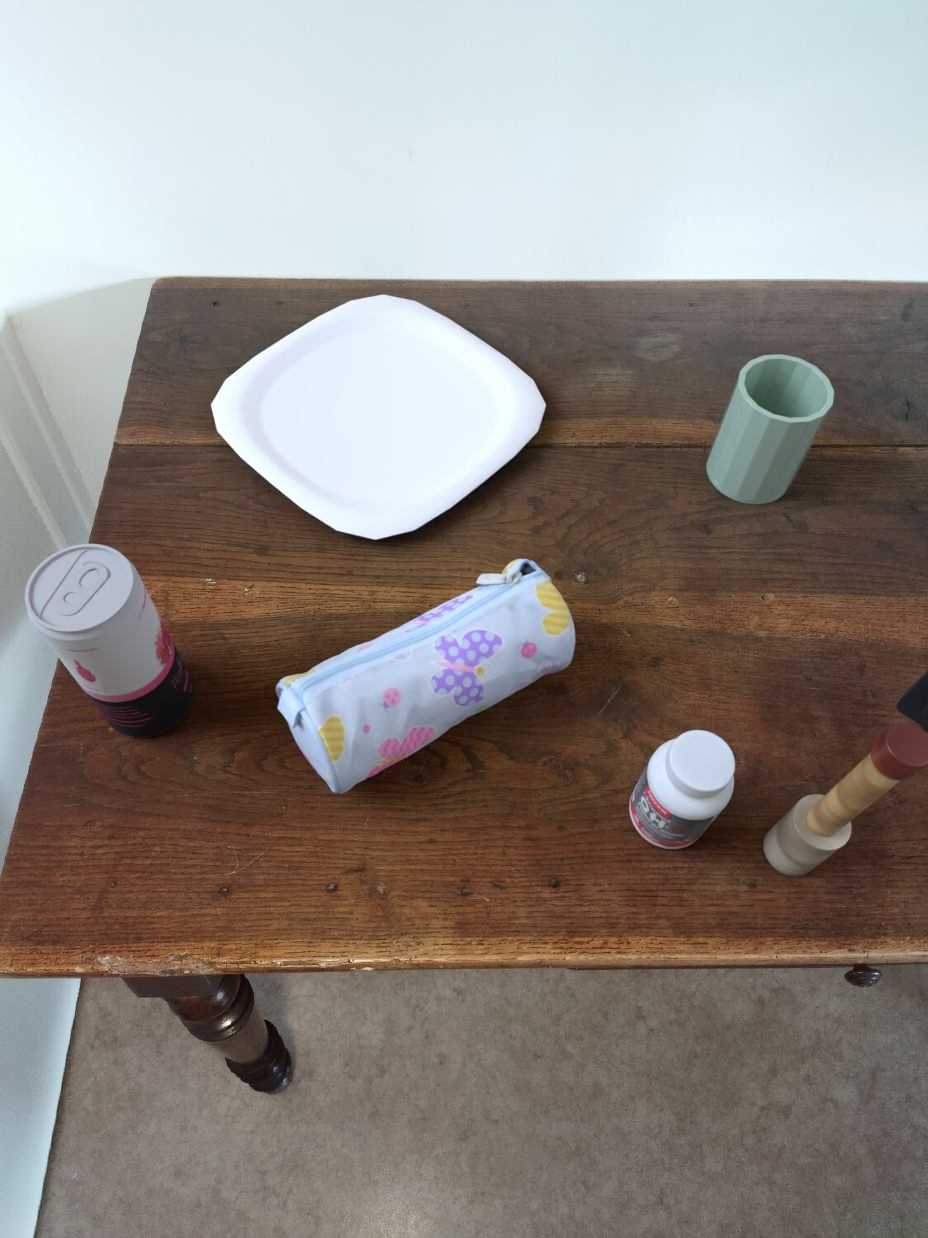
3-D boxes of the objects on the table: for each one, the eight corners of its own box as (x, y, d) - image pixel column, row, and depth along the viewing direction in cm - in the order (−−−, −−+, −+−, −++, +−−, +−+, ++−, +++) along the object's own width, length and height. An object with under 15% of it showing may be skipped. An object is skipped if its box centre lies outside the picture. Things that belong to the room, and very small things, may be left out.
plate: (576, 416, 81) (579, 402, 79) (375, 580, 71) (374, 568, 69) (384, 286, 89) (383, 272, 88) (181, 416, 79) (176, 402, 78)
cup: (805, 467, 78) (850, 383, 70) (764, 518, 75) (806, 436, 67) (732, 427, 81) (767, 341, 72) (690, 475, 77) (721, 390, 69)
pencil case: (513, 596, 70) (523, 523, 62) (579, 678, 67) (599, 612, 59) (277, 725, 64) (253, 662, 56) (334, 824, 60) (318, 772, 52)
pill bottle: (617, 831, 61) (646, 779, 52) (641, 764, 63) (673, 704, 55) (692, 864, 59) (734, 816, 51) (714, 795, 62) (758, 738, 54)
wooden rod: (825, 846, 60) (958, 739, 45) (801, 888, 59) (929, 792, 43) (778, 814, 61) (892, 699, 46) (753, 853, 60) (862, 748, 45)
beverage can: (213, 682, 66) (159, 567, 53) (158, 755, 63) (86, 651, 50) (142, 646, 67) (72, 525, 54) (85, 715, 64) (-3, 605, 51)
